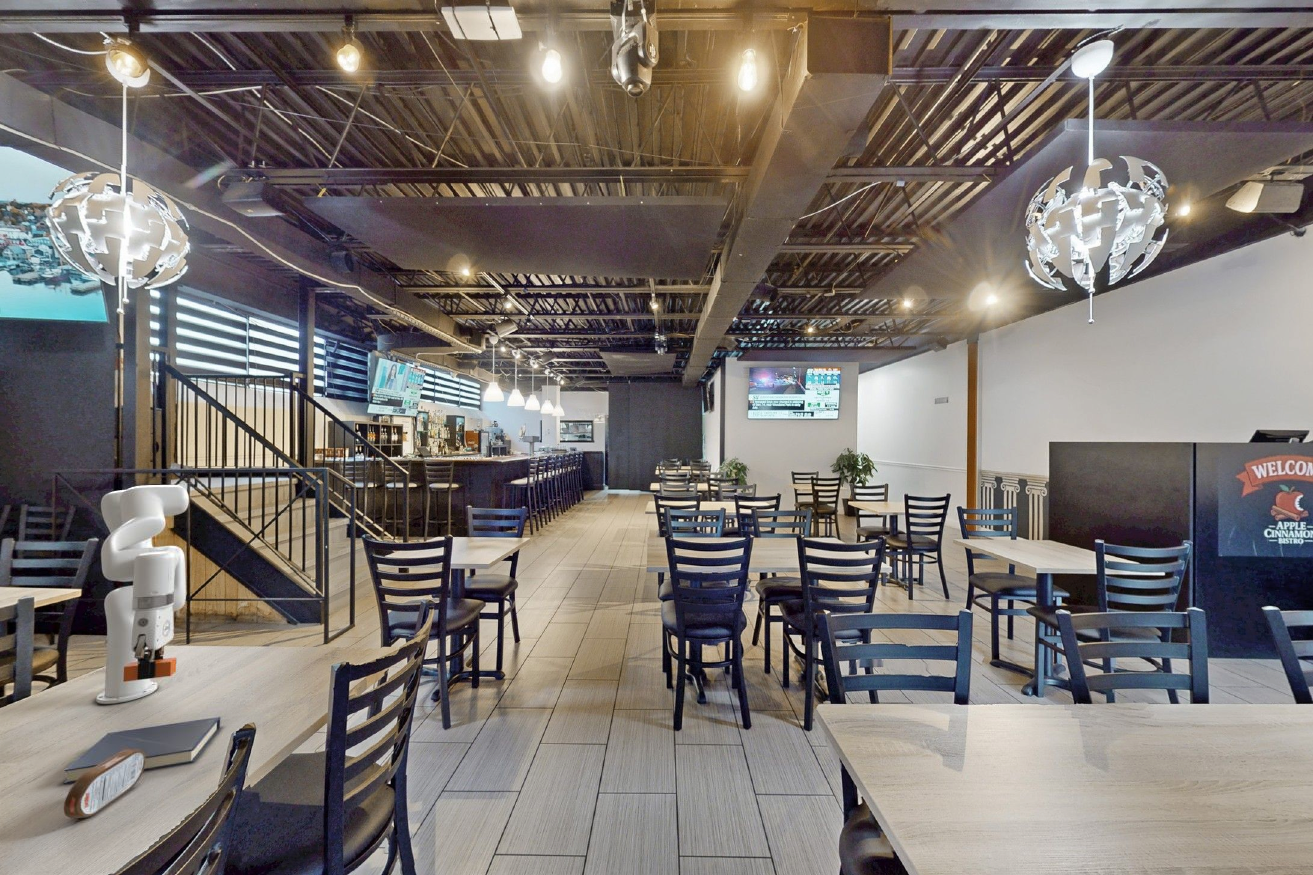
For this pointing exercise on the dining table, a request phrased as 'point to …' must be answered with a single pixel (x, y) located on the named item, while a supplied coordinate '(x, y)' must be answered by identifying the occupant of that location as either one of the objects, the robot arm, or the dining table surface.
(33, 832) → the dining table surface
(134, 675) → the long orange block
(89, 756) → the book
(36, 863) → the dining table surface
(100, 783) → the tin
